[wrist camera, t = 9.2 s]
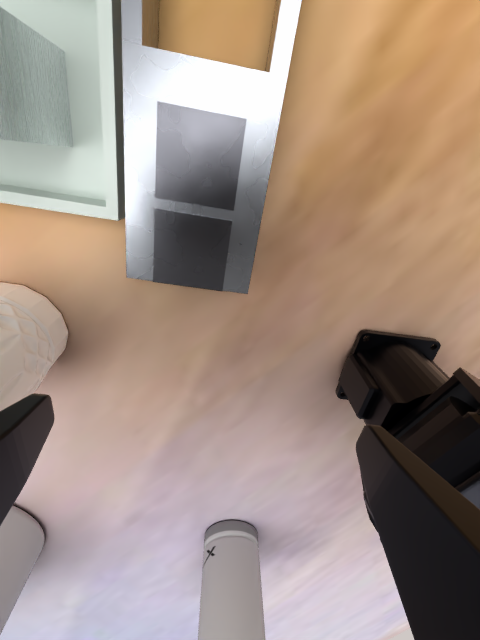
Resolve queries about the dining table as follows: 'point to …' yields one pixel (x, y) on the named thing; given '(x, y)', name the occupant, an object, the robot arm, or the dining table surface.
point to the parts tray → (75, 115)
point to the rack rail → (197, 153)
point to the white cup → (27, 341)
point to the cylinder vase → (17, 557)
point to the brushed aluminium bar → (32, 86)
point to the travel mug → (231, 584)
